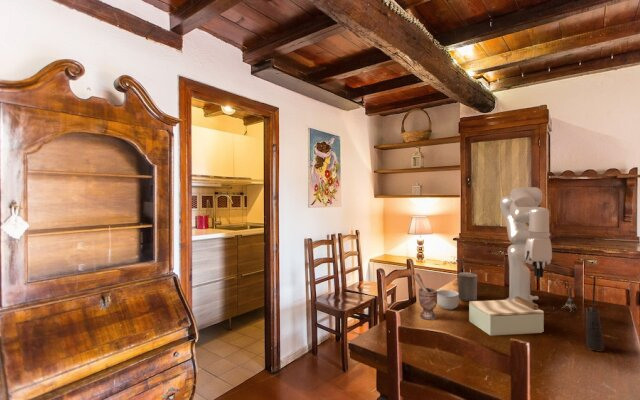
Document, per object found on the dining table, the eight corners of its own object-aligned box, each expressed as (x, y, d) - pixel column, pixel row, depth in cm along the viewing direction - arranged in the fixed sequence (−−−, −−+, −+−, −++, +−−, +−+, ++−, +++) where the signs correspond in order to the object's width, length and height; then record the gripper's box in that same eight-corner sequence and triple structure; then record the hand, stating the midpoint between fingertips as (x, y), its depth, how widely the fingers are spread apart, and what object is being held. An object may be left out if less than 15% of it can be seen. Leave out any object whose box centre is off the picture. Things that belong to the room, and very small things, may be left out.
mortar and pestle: (410, 317, 161) (410, 275, 160) (415, 311, 168) (414, 271, 168) (435, 321, 155) (435, 278, 154) (439, 315, 162) (439, 274, 162)
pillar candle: (459, 300, 185) (459, 273, 185) (457, 295, 194) (457, 269, 194) (478, 302, 182) (478, 274, 182) (475, 296, 191) (475, 270, 191)
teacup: (462, 311, 168) (462, 295, 168) (440, 311, 168) (440, 295, 168) (451, 302, 182) (451, 287, 182) (431, 302, 182) (431, 287, 182)
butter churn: (577, 340, 135) (578, 270, 134) (609, 347, 129) (610, 274, 128) (577, 348, 128) (577, 275, 127) (610, 356, 122) (611, 279, 121)
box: (517, 318, 158) (517, 301, 158) (543, 332, 142) (543, 313, 142) (469, 320, 156) (469, 303, 155) (490, 335, 140) (490, 316, 139)
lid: (517, 301, 158) (517, 295, 158) (543, 313, 142) (543, 306, 142) (469, 303, 155) (469, 297, 155) (490, 315, 139) (490, 309, 139)
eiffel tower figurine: (586, 309, 171) (587, 283, 171) (591, 315, 162) (591, 288, 162) (551, 305, 178) (551, 279, 178) (553, 310, 169) (554, 284, 169)
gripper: (547, 234, 154) (547, 274, 154) (517, 235, 153) (517, 275, 153) (561, 236, 147) (560, 278, 147) (529, 237, 145) (529, 279, 145)
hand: (538, 276), depth 150 cm, fingers closed
